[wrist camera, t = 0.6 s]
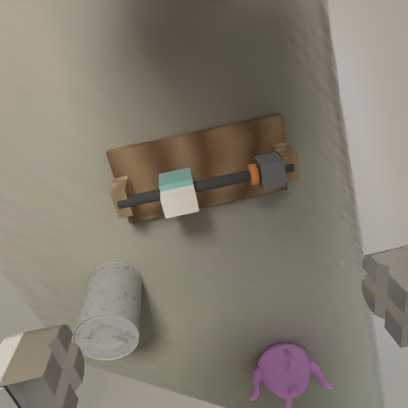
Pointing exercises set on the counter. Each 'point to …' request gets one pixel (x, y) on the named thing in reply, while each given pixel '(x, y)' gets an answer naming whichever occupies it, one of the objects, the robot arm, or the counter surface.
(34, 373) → the robot arm
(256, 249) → the counter surface
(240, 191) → the rod slider board
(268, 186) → the rail
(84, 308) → the grey upright cylinder
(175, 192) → the sleeve
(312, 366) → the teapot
